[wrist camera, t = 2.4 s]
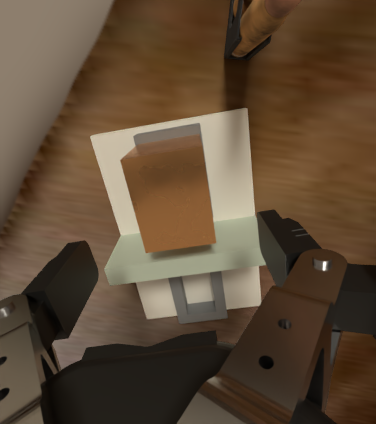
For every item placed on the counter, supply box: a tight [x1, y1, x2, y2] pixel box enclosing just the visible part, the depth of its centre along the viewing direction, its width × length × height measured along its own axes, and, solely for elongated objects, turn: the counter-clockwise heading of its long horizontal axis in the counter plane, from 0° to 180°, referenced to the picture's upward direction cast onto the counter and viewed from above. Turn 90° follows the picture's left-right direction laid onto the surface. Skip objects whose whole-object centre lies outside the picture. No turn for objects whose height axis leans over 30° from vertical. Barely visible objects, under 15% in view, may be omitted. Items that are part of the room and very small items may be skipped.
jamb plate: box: [90, 108, 266, 324], centre depth 21 cm, size 19×12×6 cm, turn 10°
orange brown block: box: [120, 134, 216, 253], centre depth 18 cm, size 6×4×6 cm
